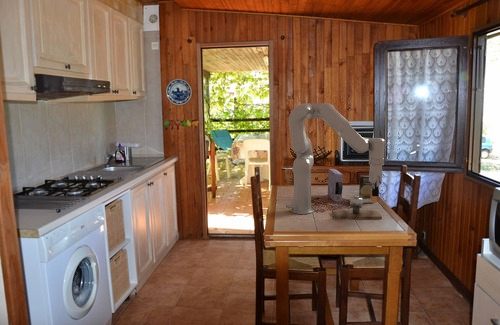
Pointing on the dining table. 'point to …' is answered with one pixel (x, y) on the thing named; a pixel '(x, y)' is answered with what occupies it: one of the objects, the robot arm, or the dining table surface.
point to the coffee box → (365, 187)
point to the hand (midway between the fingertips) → (375, 195)
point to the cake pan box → (335, 185)
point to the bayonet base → (356, 214)
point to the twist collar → (362, 200)
